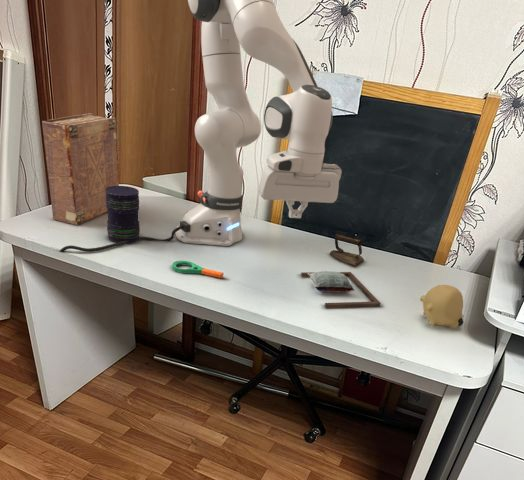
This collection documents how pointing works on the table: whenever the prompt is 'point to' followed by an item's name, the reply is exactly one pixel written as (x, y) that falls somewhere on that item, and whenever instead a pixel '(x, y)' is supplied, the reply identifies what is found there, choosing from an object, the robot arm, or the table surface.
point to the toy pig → (443, 306)
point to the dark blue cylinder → (122, 214)
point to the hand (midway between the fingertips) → (294, 217)
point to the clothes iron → (346, 256)
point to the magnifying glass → (195, 269)
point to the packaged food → (331, 282)
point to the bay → (351, 304)
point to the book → (80, 165)
